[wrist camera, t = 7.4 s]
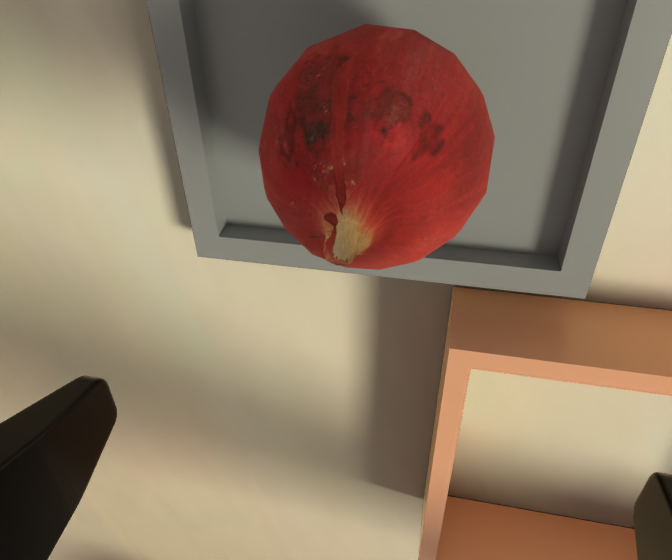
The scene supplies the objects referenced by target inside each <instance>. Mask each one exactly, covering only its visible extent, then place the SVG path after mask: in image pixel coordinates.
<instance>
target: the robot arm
mask: <svg viewBox="0 0 672 560" xmlns="http://www.w3.org/2000/svg"><path fill="white" fill-rule="evenodd" d="M116 417H117V408H116V405H115V402H114V400H113V397H112V394H111V392H110V389H109V386H108V384H107V382H106V381H105V380H104V379H102V378H97V377H91V376H81V377H78V378H76V379H75V380H73V381H71V382H70V383H68V384H66V385H65V386H63V387H61V388H59V389H58V390H56V391H54V392H53V393H51V394H49V395H48V396H46V397H44V398H43V399H41V400H39V401H38V402H36V403H34V404H32V405H31V406H29V407H27V408H26V409H24V410H22V411H21V412H19V413H17V414H16V415H14V416H12V417H10V418H9V419H7V420H5V421H4V422H2V423H0V560H47V559H48V557H49V556H50V554H51V552H52V550H53V549H54V547H55V545H56V543H57V542H58V540H59V538H60V536H61V534H62V533H63V531H64V529H65V527H66V526H67V524H68V522H69V520H70V518H71V517H72V515H73V513H74V511H75V509H76V508H77V506H78V504H79V502H80V500H81V498H82V496H83V494H84V492H85V490H86V487H87V485H88V483H89V481H90V478H91V476H92V474H93V472H94V469H95V467H96V465H97V463H98V460H99V458H100V456H101V453H102V451H103V449H104V447H105V444H106V442H107V440H108V438H109V435H110V433H111V431H112V429H113V426H114V424H115V421H116ZM634 528H635V539H636V550H637V560H672V475H671V474H665V473H659V472H655V473H653V474H652V475H651V476H650V477H649V479H648V480H647V482H646V484H645V486H644V488H643V490H642V491H641V493H640V495H639V497H638V499H637V501H636V503H635V506H634Z"/></svg>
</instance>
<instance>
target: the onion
mask: <svg viewBox="0 0 672 560" xmlns="http://www.w3.org/2000/svg"><path fill="white" fill-rule="evenodd" d="M494 140H495V135H494V132H493V128H492V124H491V121H490V117H489V114H488V110H487V106H486V103H485V99H484V96H483V94H482V92H481V90H480V88H479V87H478V86H477V84H476V83H475V81H474V80H473V79H472V77H471V76H470V74H469V73H468V72H467V70H466V69H465V67H464V66H463V65H462V63H461V62H460V60H459V59H458V58H457V56H456V55H455V54H454V53H453V52H451V51H449V50H447V49H446V48H444V47H442V46H441V45H439V44H437V43H436V42H434V41H432V40H431V39H429V38H427V37H426V36H424V35H422V34H421V33H419V32H417V31H416V30H412V29H404V28H396V27H387V26H379V25H371V24H364V25H361V26H359V27H356V28H354V29H351V30H349V31H346V32H344V33H341V34H339V35H336V36H334V37H331V38H329V39H326V40H324V41H321V42H319V43H316V44H314V45H311V46H309V47H308V48H307V49H306V50H305V51H304V52H303V54H302V55H301V56H300V57H299V58H298V60H297V61H296V62H295V63H294V64H293V66H292V67H291V68H290V69H289V70H288V72H287V73H286V74H285V75H284V76H283V78H282V79H281V80H280V81H279V82H278V84H277V85H276V87H275V89H274V90H273V92H272V93H271V95H270V97H269V101H268V105H267V110H266V114H265V119H264V124H263V128H262V133H261V137H260V144H259V157H260V164H261V170H262V177H263V183H264V189H265V193H266V196H267V199H268V201H269V202H270V204H271V206H272V207H273V209H274V211H275V213H276V214H277V216H278V218H279V219H280V221H281V223H282V224H283V226H284V228H285V229H286V230H287V231H288V232H289V233H290V234H291V235H292V236H293V237H294V238H295V239H296V240H297V241H298V242H300V243H301V244H302V245H303V246H304V247H305V248H306V249H307V250H308V251H309V252H310V253H311V254H312V255H315V256H317V257H320V258H323V259H325V260H326V261H328V262H330V263H332V264H335V265H337V266H343V267H346V268H359V269H373V270H381V269H386V268H390V267H395V266H399V265H404V264H408V263H413V262H416V261H418V260H421V259H422V258H424V257H425V256H427V255H428V254H430V253H431V252H433V251H434V250H436V249H437V248H439V247H440V246H442V245H443V244H445V243H446V242H448V241H449V240H451V239H453V238H454V237H455V236H456V235H457V234H458V233H459V232H460V230H461V229H462V228H463V226H464V225H465V223H466V222H467V220H468V219H469V217H470V216H471V215H472V213H473V212H474V210H475V209H476V207H477V206H478V204H479V203H480V201H481V200H482V198H483V197H484V195H485V194H486V191H487V185H488V179H489V172H490V166H491V159H492V153H493V147H494Z"/></svg>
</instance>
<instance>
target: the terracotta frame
mask: <svg viewBox="0 0 672 560" xmlns="http://www.w3.org/2000/svg"><path fill="white" fill-rule="evenodd" d="M471 369H477V370H484V371H492V372H499V373H506V374H514V375H521V376H529V377H536V378H543V379H551V380H558V381H565V382H573V383H580V384H588V385H595V386H602V387H610V388H617V389H624V390H632V391H639V392H647V393H654V394H661V395H669V396H672V311H670V310H661V309H652V308H643V307H634V306H624V305H615V304H606V303H597V302H588V301H579V300H570V299H561V298H552V297H543V296H534V295H524V294H515V293H506V292H497V291H488V290H479V289H470V288H461V287H453V292H452V300H451V307H450V314H449V321H448V328H447V335H446V343H445V350H444V357H443V364H442V371H441V378H440V385H439V393H438V400H437V407H436V414H435V421H434V428H433V436H432V443H431V450H430V457H429V464H428V471H427V478H426V486H425V493H424V500H423V511H422V522H421V533H420V545H419V556H418V560H637V550H636V539H635V529H631V528H625V527H620V526H614V525H609V524H603V523H597V522H592V521H586V520H580V519H575V518H569V517H563V516H558V515H552V514H547V513H541V512H535V511H530V510H524V509H518V508H513V507H507V506H501V505H496V504H490V503H484V502H479V501H473V500H468V499H462V498H456V497H451V496H447V495H448V489H449V484H450V478H451V473H452V468H453V462H454V457H455V451H456V446H457V440H458V435H459V430H460V424H461V419H462V413H463V408H464V402H465V397H466V392H467V386H468V381H469V375H470V370H471Z"/></svg>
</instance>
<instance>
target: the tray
mask: <svg viewBox="0 0 672 560" xmlns="http://www.w3.org/2000/svg"><path fill="white" fill-rule="evenodd" d="M146 2H147V7H148V12H149V17H150V22H151V27H152V32H153V37H154V42H155V47H156V51H157V56H158V61H159V66H160V71H161V76H162V81H163V86H164V91H165V96H166V101H167V106H168V111H169V116H170V121H171V126H172V131H173V136H174V141H175V146H176V151H177V156H178V161H179V166H180V171H181V176H182V181H183V185H184V190H185V195H186V200H187V205H188V210H189V215H190V220H191V225H192V230H193V235H194V240H195V245H196V250H197V255H198V257H207V258H216V259H225V260H234V261H243V262H252V263H262V264H271V265H280V266H289V267H298V268H307V269H317V270H326V271H335V272H344V273H353V274H362V275H371V276H381V277H390V278H399V279H408V280H417V281H426V282H436V283H445V284H454V285H463V286H472V287H481V288H490V289H500V290H509V291H518V292H527V293H536V294H545V295H555V296H564V297H573V298H582V299H585V298H586V295H587V292H588V289H589V286H590V283H591V280H592V277H593V273H594V270H595V267H596V264H597V261H598V258H599V255H600V252H601V249H602V246H603V243H604V240H605V237H606V234H607V230H608V227H609V224H610V221H611V218H612V215H613V212H614V209H615V206H616V203H617V200H618V197H619V194H620V191H621V187H622V184H623V181H624V178H625V175H626V172H627V169H628V166H629V163H630V160H631V157H632V154H633V151H634V148H635V145H636V141H637V138H638V135H639V132H640V129H641V126H642V123H643V120H644V117H645V114H646V111H647V108H648V105H649V102H650V98H651V95H652V92H653V89H654V86H655V83H656V80H657V77H658V74H659V71H660V68H661V65H662V62H663V59H664V55H665V52H666V49H667V46H668V43H669V40H670V37H671V34H672V0H146ZM364 24H371V25H379V26H387V27H396V28H404V29H412V30H416V31H417V32H419V33H421V34H422V35H424V36H426V37H427V38H429V39H431V40H432V41H434V42H436V43H437V44H439V45H441V46H442V47H444V48H446V49H447V50H449V51H451V52H453V53H454V54H455V55H456V56H457V58H458V59H459V60H460V62H461V63H462V65H463V66H464V67H465V69H466V70H467V72H468V73H469V74H470V76H471V77H472V79H473V80H474V81H475V83H476V84H477V86H478V87H479V88H480V90H481V92H482V94H483V96H484V99H485V103H486V106H487V110H488V114H489V117H490V121H491V124H492V128H493V132H494V135H495V140H494V147H493V153H492V159H491V166H490V172H489V179H488V185H487V191H486V194H485V195H484V197H483V198H482V200H481V201H480V203H479V204H478V206H477V207H476V209H475V210H474V212H473V213H472V215H471V216H470V217H469V219H468V220H467V222H466V223H465V225H464V226H463V228H462V229H461V230H460V232H459V233H458V234H457V235H456V236H455V237H454V238H453V239H451V240H449V241H448V242H446V243H445V244H443V245H442V246H440V247H439V248H437V249H436V250H434V251H433V252H431V253H430V254H428V255H427V256H425V257H424V258H422V259H421V260H418V261H416V262H413V263H408V264H404V265H399V266H395V267H390V268H386V269H381V270H373V269H359V268H346V267H343V266H337V265H335V264H332V263H330V262H328V261H326V260H325V259H323V258H320V257H317V256H315V255H312V254H311V253H310V252H309V251H308V250H307V249H306V248H305V247H304V246H303V245H302V244H301V243H300V242H298V241H297V240H296V239H295V238H294V237H293V236H292V235H291V234H290V233H289V232H288V231H287V230H286V229H285V228H284V226H283V224H282V223H281V221H280V219H279V218H278V216H277V214H276V213H275V211H274V209H273V207H272V206H271V204H270V202H269V201H268V199H267V196H266V193H265V189H264V183H263V177H262V170H261V164H260V157H259V144H260V137H261V133H262V128H263V124H264V119H265V114H266V110H267V105H268V101H269V97H270V95H271V93H272V92H273V90H274V89H275V87H276V85H277V84H278V82H279V81H280V80H281V79H282V78H283V76H284V75H285V74H286V73H287V72H288V70H289V69H290V68H291V67H292V66H293V64H294V63H295V62H296V61H297V60H298V58H299V57H300V56H301V55H302V54H303V52H304V51H305V50H306V49H307V48H308V47H309V46H311V45H314V44H316V43H319V42H321V41H324V40H326V39H329V38H331V37H334V36H336V35H339V34H341V33H344V32H346V31H349V30H351V29H354V28H356V27H359V26H361V25H364Z"/></svg>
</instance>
